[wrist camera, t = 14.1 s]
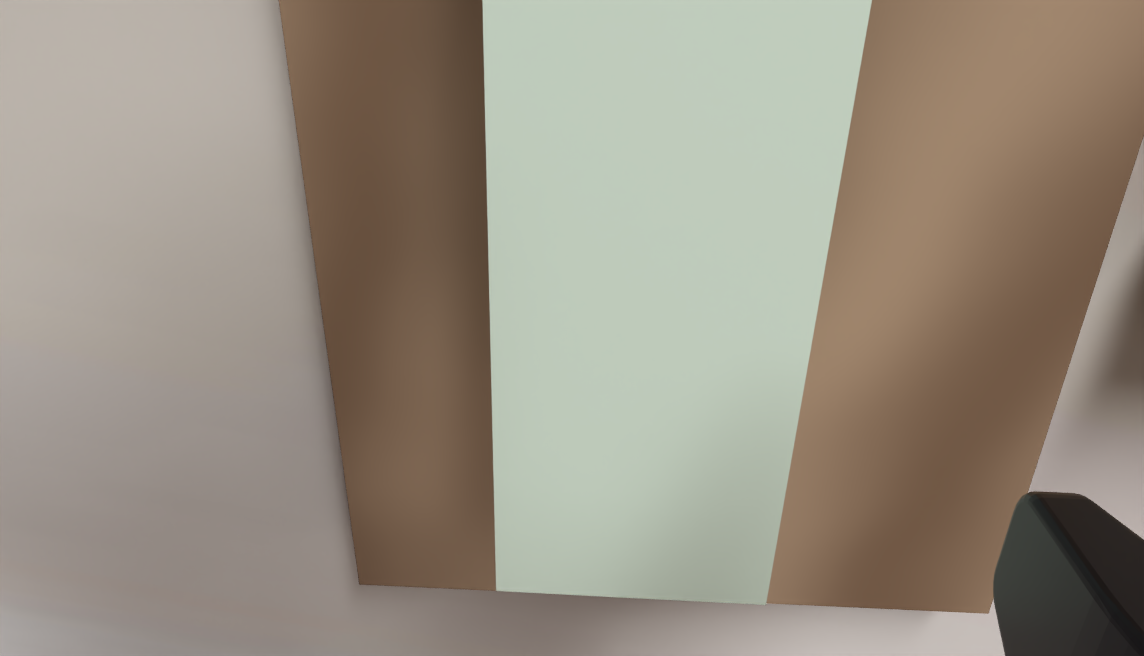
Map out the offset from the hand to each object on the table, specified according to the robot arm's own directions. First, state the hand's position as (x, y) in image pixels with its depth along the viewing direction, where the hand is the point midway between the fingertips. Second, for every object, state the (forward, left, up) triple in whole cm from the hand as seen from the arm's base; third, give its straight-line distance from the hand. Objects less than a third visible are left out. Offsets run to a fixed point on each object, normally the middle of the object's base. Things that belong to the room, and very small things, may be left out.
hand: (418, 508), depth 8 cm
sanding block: (+2, 0, -10) cm, 11 cm away
